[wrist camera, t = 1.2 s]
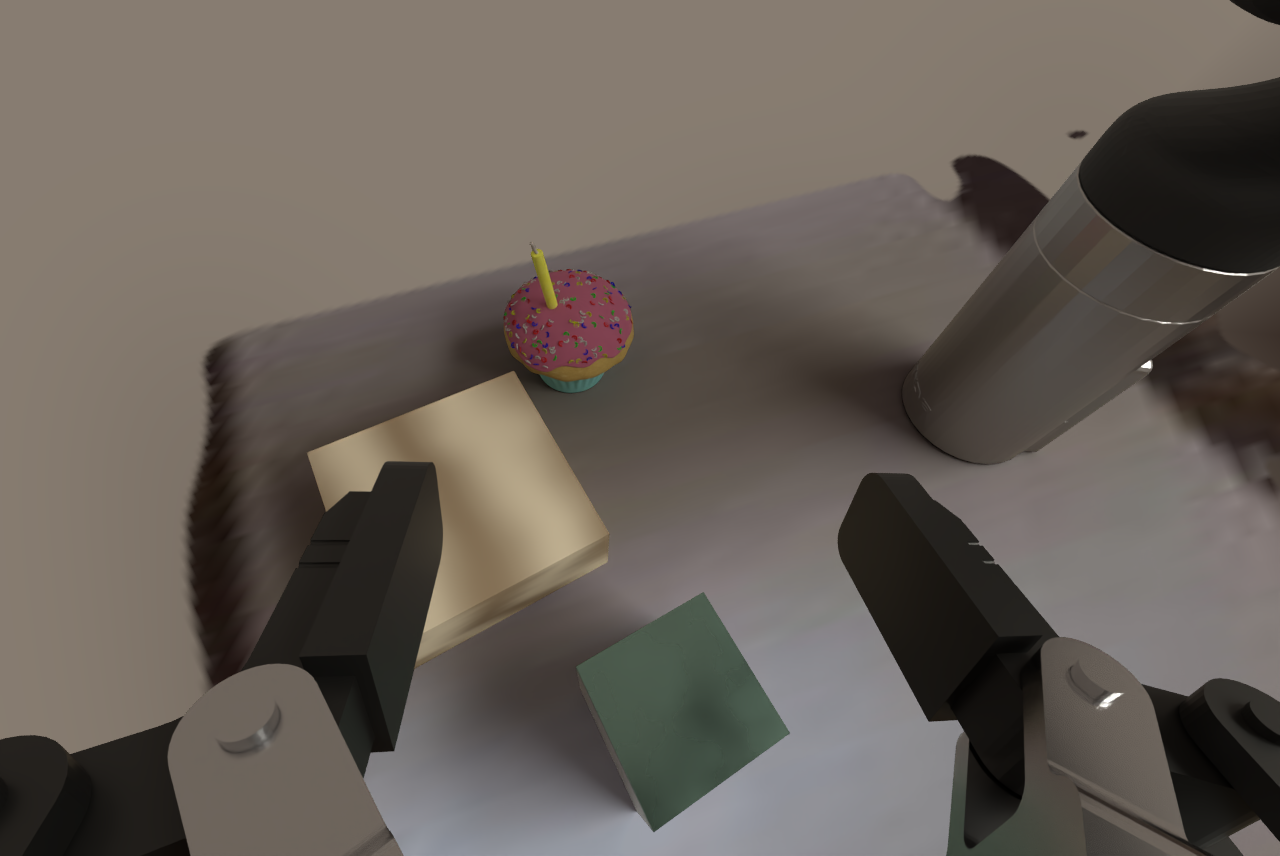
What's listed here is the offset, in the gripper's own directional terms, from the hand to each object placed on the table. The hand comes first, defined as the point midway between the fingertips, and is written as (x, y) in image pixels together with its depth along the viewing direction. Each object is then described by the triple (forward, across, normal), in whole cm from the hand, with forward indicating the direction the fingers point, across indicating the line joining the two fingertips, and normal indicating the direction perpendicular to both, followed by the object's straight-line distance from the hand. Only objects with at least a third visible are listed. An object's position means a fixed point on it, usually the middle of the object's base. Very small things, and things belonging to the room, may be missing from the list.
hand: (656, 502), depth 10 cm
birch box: (+17, +6, +18) cm, 25 cm away
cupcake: (+28, +1, +12) cm, 30 cm away
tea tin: (+7, -4, +21) cm, 22 cm away
